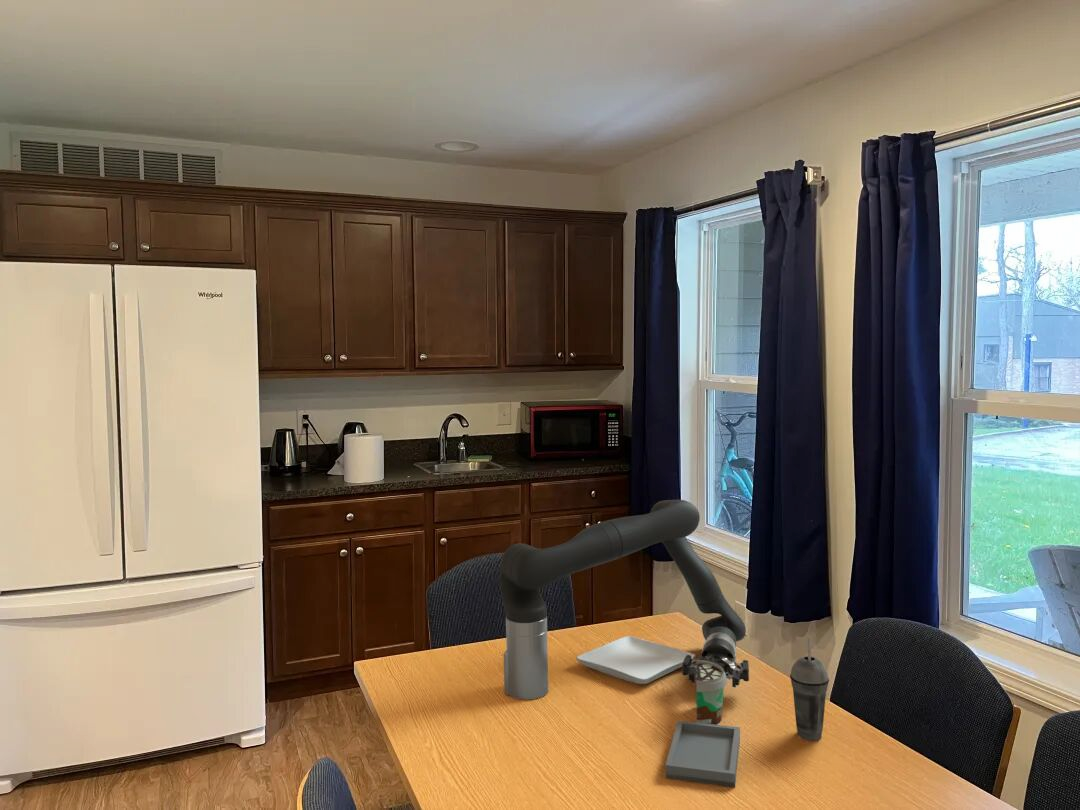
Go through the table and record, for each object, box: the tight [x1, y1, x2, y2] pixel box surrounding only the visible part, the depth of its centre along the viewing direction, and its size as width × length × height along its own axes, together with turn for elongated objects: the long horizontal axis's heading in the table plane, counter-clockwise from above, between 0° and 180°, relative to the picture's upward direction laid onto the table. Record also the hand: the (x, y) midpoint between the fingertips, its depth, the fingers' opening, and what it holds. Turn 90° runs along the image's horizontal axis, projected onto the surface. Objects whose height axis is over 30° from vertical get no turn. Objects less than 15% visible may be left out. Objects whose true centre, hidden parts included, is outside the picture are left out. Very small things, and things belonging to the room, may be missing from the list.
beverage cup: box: [789, 636, 830, 742], centre depth 155 cm, size 7×7×20 cm
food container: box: [695, 659, 728, 725], centre depth 164 cm, size 12×6×10 cm, turn 168°
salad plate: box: [576, 635, 696, 685], centre depth 192 cm, size 21×21×3 cm
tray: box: [665, 720, 741, 788], centre depth 148 cm, size 12×18×2 cm, turn 163°
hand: (713, 680), depth 168 cm, fingers open, 8 cm apart
